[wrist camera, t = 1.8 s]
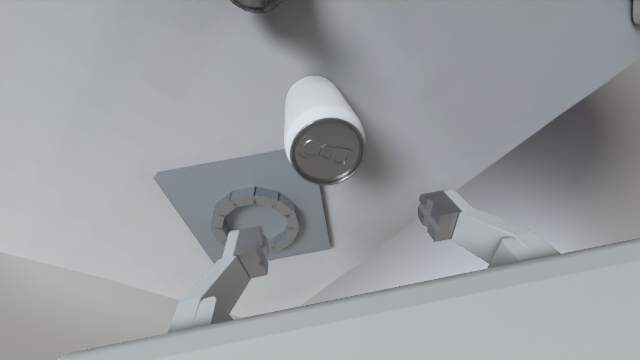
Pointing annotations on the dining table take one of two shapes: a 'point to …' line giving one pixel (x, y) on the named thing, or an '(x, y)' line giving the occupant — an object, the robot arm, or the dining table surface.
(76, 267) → the dining table surface
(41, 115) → the dining table surface
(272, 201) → the collar
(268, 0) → the salt shaker
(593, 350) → the robot arm
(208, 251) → the board
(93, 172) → the dining table surface
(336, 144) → the can
